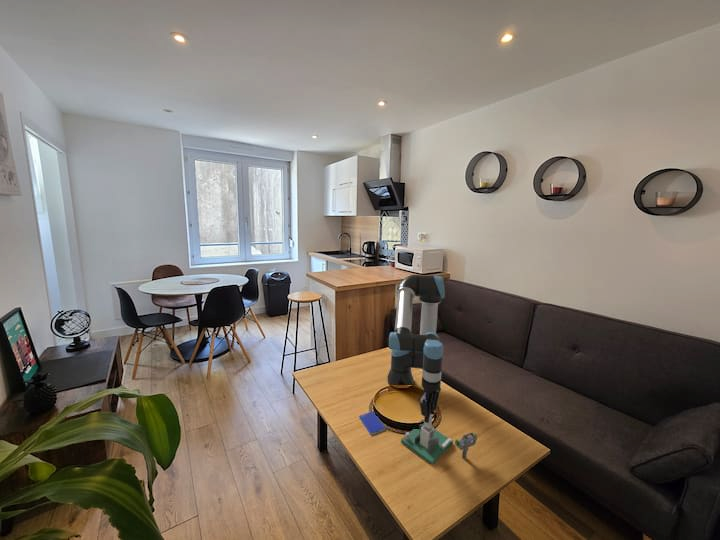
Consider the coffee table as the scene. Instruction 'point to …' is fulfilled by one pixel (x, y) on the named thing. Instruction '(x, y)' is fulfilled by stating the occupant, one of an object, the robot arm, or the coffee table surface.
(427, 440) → the plug
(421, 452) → the board
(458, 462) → the coffee table surface
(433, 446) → the header
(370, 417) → the hard drive
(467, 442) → the mechanical component
